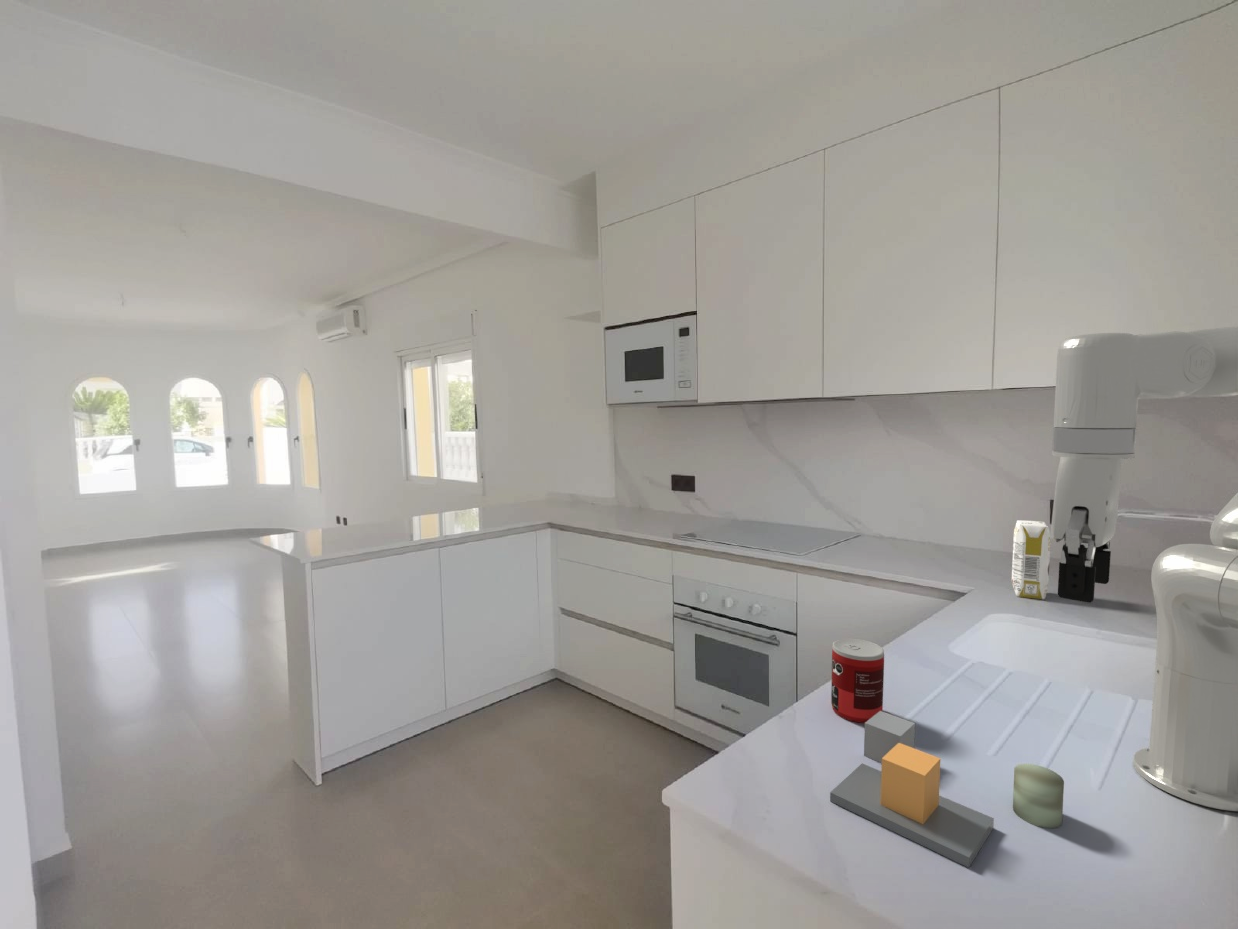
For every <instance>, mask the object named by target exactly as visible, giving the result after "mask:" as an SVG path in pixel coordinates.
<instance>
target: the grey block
mask: <svg viewBox="0 0 1238 929" xmlns="http://www.w3.org/2000/svg"><path fill="white" fill-rule="evenodd" d="M915 731H916V722H913V721H909V720H908V719H904V718H902V717H900V716H895V715H893V714H890V713H887V712H885V711H883V710H882V711H879V712H878V713H877V714H876V715H874V716H873V717H872V718H870V719H869V720H868V721H867V722H865V723H864V734H863V735H864V737H863V738H864V739H863V740H864V741H863V756H864V757H866V758H869V759H871V760H873V761H876V762H878V763H881V764H882V758H883V757H884V756H885V755H886V754H887V753H888V752H889V751H890V750H891V749H892V748H893V747H895V746H896V745H897V744H898V743H901V744H904V745H906V746H909V747H912V748H914V749H915V734H916V732H915Z"/></svg>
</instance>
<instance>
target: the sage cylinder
mask: <svg viewBox="0 0 1238 929" xmlns="http://www.w3.org/2000/svg"><path fill="white" fill-rule="evenodd" d="M1013 773H1014V774H1013V796H1012V797H1013V798H1012V809H1013V812H1014V814H1015V815H1016V816H1017V817H1018V818H1020V819H1021V820H1023V821H1024V822H1026V823H1029V824H1031V825H1034V826H1037V827H1040V828H1045V829H1055V828H1059V827H1060V826H1062V824H1063V812H1064V811H1063V810H1064V793H1065V792H1064V789H1065V787H1064V786H1065V781H1064V779H1063V777H1062V776H1061V775H1059V774H1058V773H1057V772H1055V771H1054V770H1051V769H1049V768H1047V767H1044V766H1041V765H1039V764H1032V763H1021V764H1017V765H1015V766H1014V771H1013Z"/></svg>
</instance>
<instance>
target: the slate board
mask: <svg viewBox="0 0 1238 929" xmlns="http://www.w3.org/2000/svg"><path fill="white" fill-rule="evenodd" d="M829 793H830V794H829V795H830V796H829V799H830V800H829V801H830V802H831V803H832V804H835V805H836V806H837V805H838V806H839V807H840V808H843V809H845V810H847V811H849V812H852V813H853V814H855V815H857V816H860V817H863V818H864V819H866V820H868V821H870V822H872V823H875V824H876V825H878V826H881V827H883V828H885V829H887V830H889V831H891V832H893V833H895V834H897V835H899V836H902V837H904V838H906V839H908V840H910V841H912V842H914V843H916V844H918V845H921V846H923V847H925V848H926V849H929V850H930V851H933V852H935V853H936V854H939V855H941V856H943V857H945V858H947V859H950V860H951V861H954V862H955V863H958V864H960V865H962V866H964V867H966V868H968V869H969V868H970V866H971V865H972V863H973V862H974V860H975V858H976V857H977V855H978V854H979V851H980V850H981V849H982V847H983V846H984V844H985V842H986V840H987V839H988V837H989V836H990V834H991V833H992V831H993V830H994V828H995V827H994V826H995V825H994V823H995V817H992V816H989V815H988V814H984V813H983V812H979V811H977V810H975V809H973V808H970V807H967V806H965V805H963V804H961V803H958V802H956V801H953V800H951V799H949V798H946V797H944V796H942V795H939V805H938V806H937V808H936V809H935V810H934V811H933V813H932V814H931V815H930V816H929V818H928V819H927V820H926V821H925V823H924V824H921V823H919V822H917V821H915V820H913V819H910V818H908V817H906V816H904V815H902V814H900V813H897V812H895V811H893V810H891V809H889V808H887V807H884V806H882V805H881V770H879V769H877V768H874V767H872V766H869V765H867V764H864V763H861V764H859V765H858V766H857V767H856V768H855V769H854V770H853V771H852V772H851V773H849V775H848V776H846V777H845V778H844V779H843V780H842V781H841V782H840V783H839V784H838V785H836V787H834V788H833V789H832V790H831V791H830V792H829Z"/></svg>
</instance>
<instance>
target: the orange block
mask: <svg viewBox="0 0 1238 929" xmlns="http://www.w3.org/2000/svg"><path fill="white" fill-rule="evenodd" d="M880 771H881V805H882V806H884V807H887V808H889V809H891V810H893V811H895V812H897V813H900V814H902V815H904V816H906V817H908V818H910V819H913V820H915V821H917V822H919V823H921V824H924V823H925V821H926V820H927V819H928V818H929V816H930V815H931V814H932V813H933V811H934V810H935V809H936V808H937V806H938V805H939V796H940V782H941V781H940V778H941V757H937V756H936V755H932V754H930V753H927V752H925V751H921V750H919V749H916V748H915V747H914V748H912V747H909V746H906V745H904V744H901V743H898V744H897V745H896V746H895V747H893V748H892V749H891V750H890V751H889V752H888V753H887V754H886V755H885V756H884V757H883V758H882V763H881V770H880Z"/></svg>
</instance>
